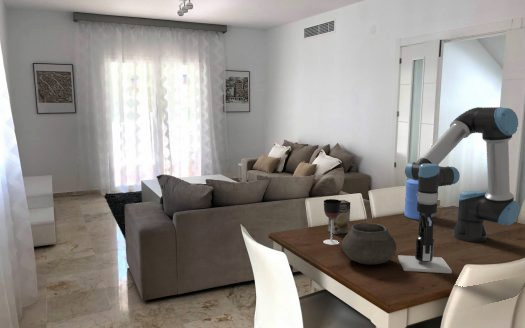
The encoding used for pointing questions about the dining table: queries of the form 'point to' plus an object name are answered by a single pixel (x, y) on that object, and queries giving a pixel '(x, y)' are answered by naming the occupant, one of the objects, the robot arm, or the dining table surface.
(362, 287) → the dining table surface
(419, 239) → the supplement bottle
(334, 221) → the coffee box
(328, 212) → the wineglass
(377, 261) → the clay pot
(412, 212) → the water jug
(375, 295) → the dining table surface
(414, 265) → the stone board
